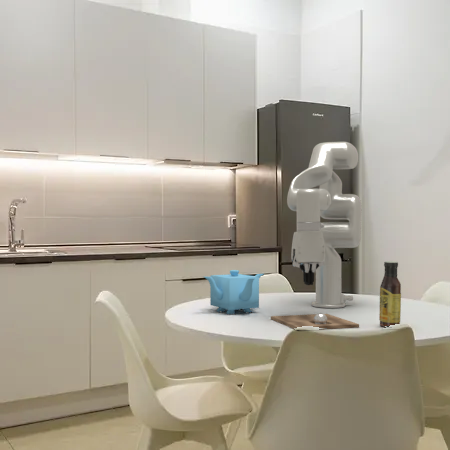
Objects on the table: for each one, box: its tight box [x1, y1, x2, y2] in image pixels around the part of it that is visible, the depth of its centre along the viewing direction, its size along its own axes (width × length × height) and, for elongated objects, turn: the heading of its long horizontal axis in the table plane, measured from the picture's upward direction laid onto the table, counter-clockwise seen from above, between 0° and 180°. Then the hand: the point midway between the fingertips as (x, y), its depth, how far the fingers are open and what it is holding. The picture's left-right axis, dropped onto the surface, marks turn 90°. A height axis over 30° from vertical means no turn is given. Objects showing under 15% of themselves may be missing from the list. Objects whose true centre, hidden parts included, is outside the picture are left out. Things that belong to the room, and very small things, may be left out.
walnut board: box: [270, 313, 360, 330], centre depth 195 cm, size 20×22×1 cm
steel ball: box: [314, 312, 327, 324], centre depth 190 cm, size 4×4×4 cm
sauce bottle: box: [378, 260, 402, 328], centre depth 189 cm, size 7×6×20 cm
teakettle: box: [203, 269, 265, 315], centre depth 220 cm, size 19×19×15 cm
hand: (308, 284), depth 200 cm, fingers closed
